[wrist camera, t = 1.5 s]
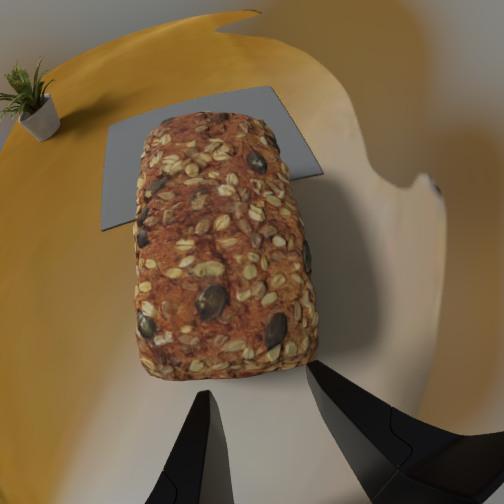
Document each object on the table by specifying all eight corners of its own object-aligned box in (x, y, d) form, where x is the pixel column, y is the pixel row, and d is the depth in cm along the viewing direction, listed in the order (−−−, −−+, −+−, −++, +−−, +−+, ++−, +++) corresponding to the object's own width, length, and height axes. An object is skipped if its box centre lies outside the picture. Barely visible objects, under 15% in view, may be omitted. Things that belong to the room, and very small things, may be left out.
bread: (169, 184, 27) (139, 112, 18) (270, 171, 27) (276, 93, 18) (174, 376, 20) (117, 384, 11) (305, 362, 20) (345, 363, 11)
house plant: (8, 157, 32) (-33, 102, 17) (52, 106, 37) (22, 49, 22) (35, 168, 30) (-17, 97, 15) (88, 108, 35) (55, 34, 20)
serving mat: (322, 175, 28) (322, 172, 27) (102, 232, 25) (101, 230, 25) (269, 87, 34) (269, 85, 34) (110, 127, 32) (109, 125, 32)
